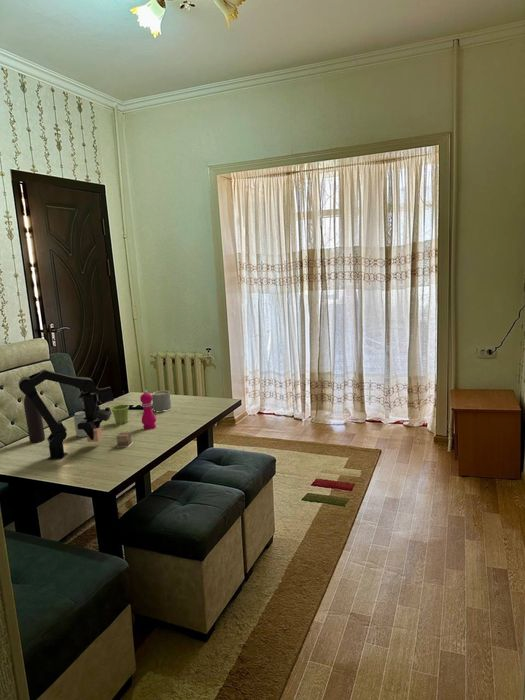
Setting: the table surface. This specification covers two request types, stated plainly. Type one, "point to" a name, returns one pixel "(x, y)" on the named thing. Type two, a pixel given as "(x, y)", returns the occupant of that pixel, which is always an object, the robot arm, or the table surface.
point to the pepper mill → (147, 411)
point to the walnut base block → (124, 439)
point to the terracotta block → (96, 435)
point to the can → (77, 419)
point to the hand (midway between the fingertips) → (94, 437)
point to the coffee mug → (161, 400)
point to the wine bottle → (33, 422)
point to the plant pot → (120, 413)
